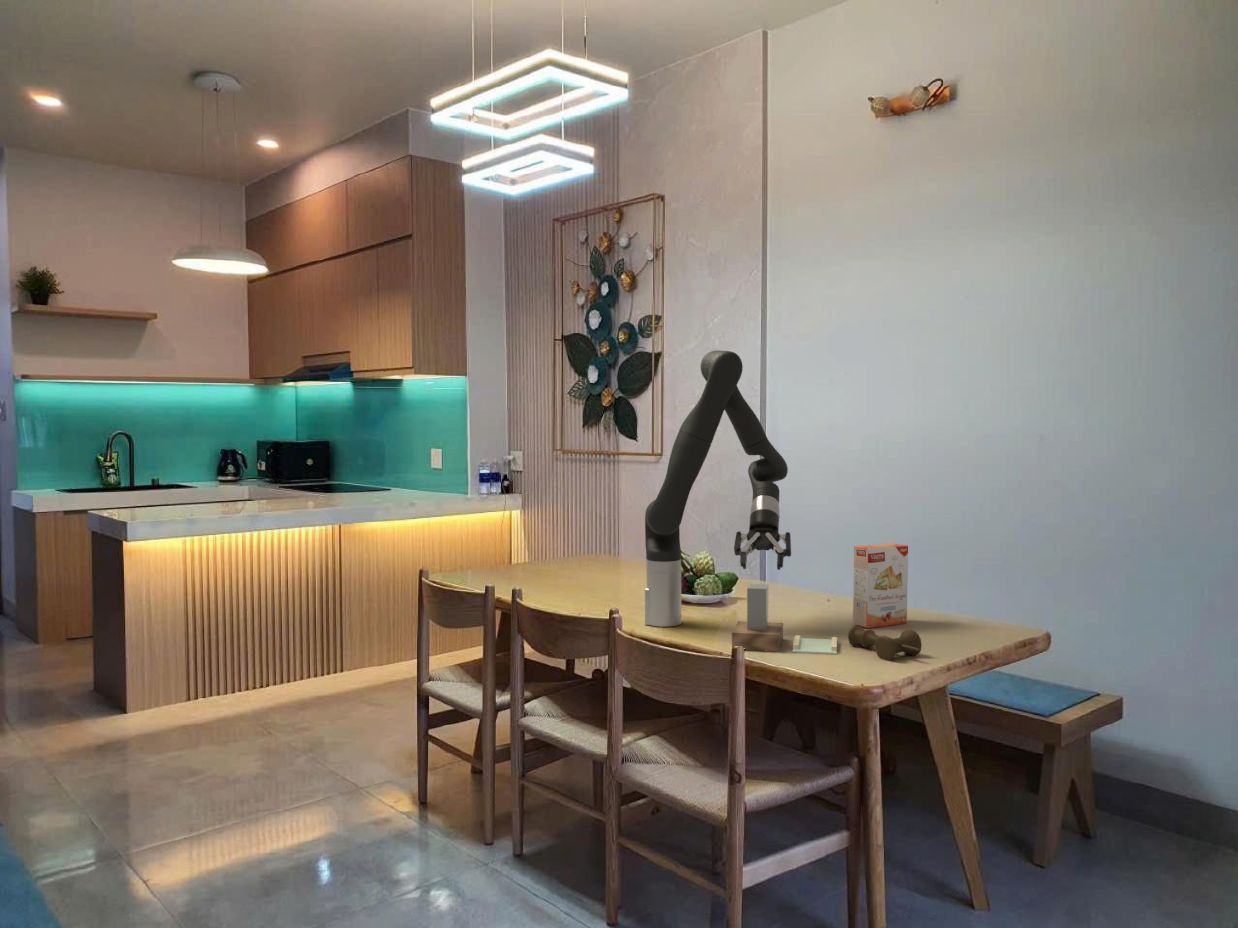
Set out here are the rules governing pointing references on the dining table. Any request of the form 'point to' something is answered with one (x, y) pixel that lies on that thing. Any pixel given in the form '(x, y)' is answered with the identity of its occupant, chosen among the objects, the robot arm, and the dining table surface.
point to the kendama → (886, 642)
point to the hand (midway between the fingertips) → (761, 567)
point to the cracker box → (880, 585)
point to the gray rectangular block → (757, 607)
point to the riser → (758, 637)
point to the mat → (815, 645)
